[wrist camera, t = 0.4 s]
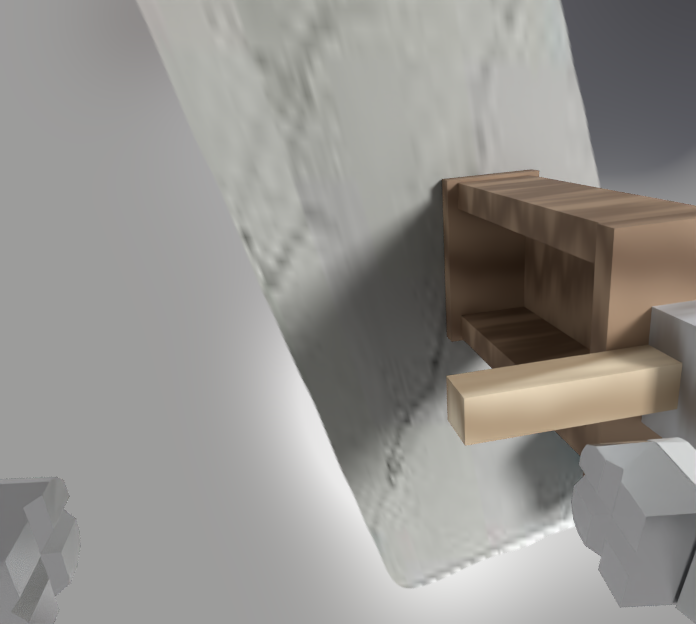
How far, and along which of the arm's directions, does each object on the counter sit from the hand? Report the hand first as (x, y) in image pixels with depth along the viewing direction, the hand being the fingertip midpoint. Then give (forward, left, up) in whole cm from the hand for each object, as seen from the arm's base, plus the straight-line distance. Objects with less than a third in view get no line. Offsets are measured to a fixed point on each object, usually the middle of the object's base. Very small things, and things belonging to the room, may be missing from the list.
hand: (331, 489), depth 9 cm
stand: (+9, +21, -45) cm, 51 cm away
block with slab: (+9, +17, -18) cm, 26 cm away
